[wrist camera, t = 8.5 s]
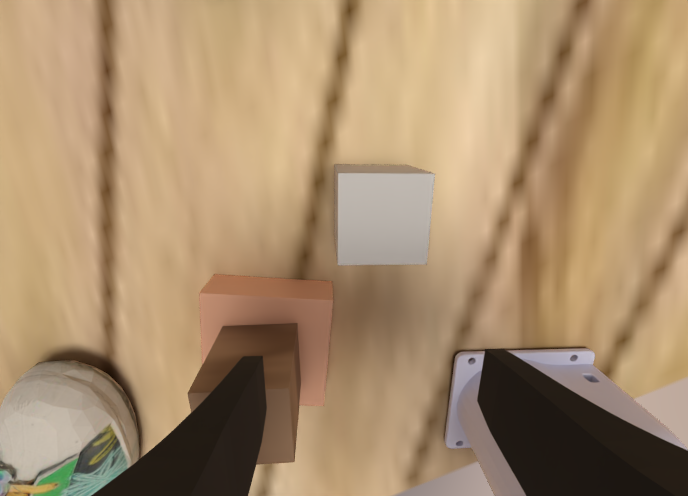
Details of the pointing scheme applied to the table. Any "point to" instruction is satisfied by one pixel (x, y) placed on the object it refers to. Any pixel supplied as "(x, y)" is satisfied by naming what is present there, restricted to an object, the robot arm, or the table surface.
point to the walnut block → (279, 380)
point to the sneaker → (65, 431)
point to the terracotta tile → (274, 319)
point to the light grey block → (382, 214)
